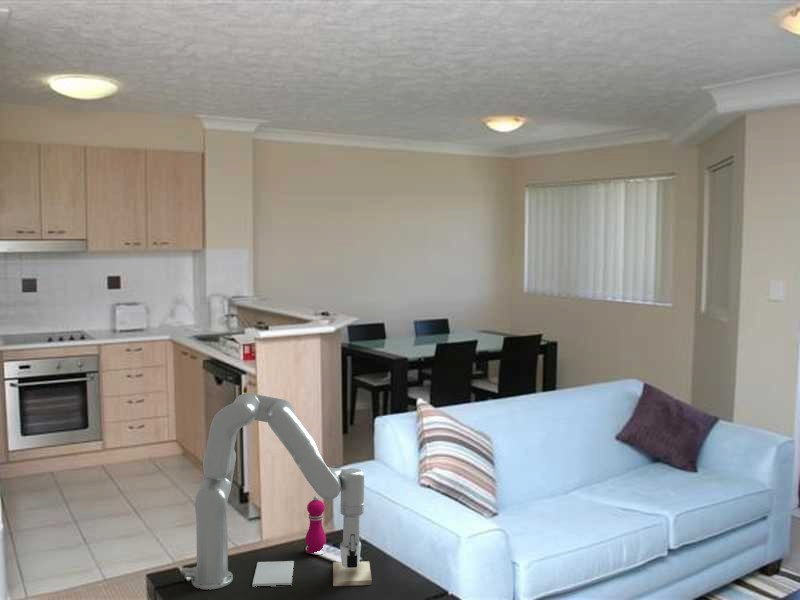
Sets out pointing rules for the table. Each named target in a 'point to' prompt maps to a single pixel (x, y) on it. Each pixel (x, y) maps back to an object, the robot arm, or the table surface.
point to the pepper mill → (315, 526)
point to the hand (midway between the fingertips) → (351, 562)
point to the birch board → (351, 574)
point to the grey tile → (273, 573)
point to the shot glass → (345, 552)
